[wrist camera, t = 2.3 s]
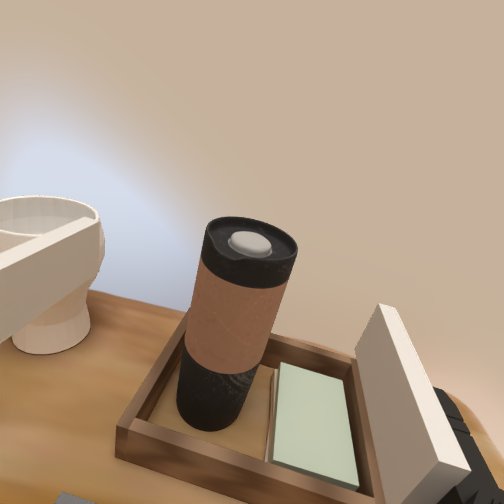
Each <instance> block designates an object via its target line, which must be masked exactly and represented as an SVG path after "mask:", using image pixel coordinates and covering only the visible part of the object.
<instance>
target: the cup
mask: <svg viewBox="0 0 504 504" xmlns="http://www.w3.org/2000/svg"><path fill="white" fill-rule="evenodd" d="M82 217H87V218H90V219H94V220H97V221H100V218H99V214H98V213H97V211H96V210H95V209H94V208H92V207H91V206H89V205H87V204H85V203H82V202H79V201H76V200H71V199H68V198H61V197H54V196H21V197H12V198H7V199H2V200H0V253H2V252H4V251H7V250H9V249H11V248H14V247H16V246H18V245H21V244H23V243H25V242H27V241H30V240H32V239H34V238H37V237H39V236H41V235H43V234H46V233H48V232H50V231H53V230H55V229H57V228H59V227H62V226H64V225H66V224H69V223H71V222H73V221H75V220H78V219H80V218H82ZM104 253H105V238H104V233H103V229H102V226H101V222H100V246H99V268H100V266H101V263H102V260H103V258H104ZM96 276H97V274H95V275H94V276H92V277H91V278H90V279H88V280H87V281H86V282H84V283H83V284H81V285H80V286H79V287H77V288H76V289H75V290H73V291H72V292H71V293H69V294H68V295H66V296H65V297H64V298H62V299H61V300H60V301H58V302H57V303H55V304H54V305H53V306H51V307H50V308H49V309H47V310H46V311H45V312H43V313H42V314H40V315H39V316H38V317H36V318H35V319H34V320H32V321H31V322H29V323H28V324H27V325H25V326H24V327H23V328H21V329H20V330H19V331H17V332H16V333H14V334H13V335H12V340H13V344H14V345H15V346H16V347H17V348H18V349H20V350H22V351H24V352H27V353H32V354H51V353H57V352H60V351H63V350H66V349H69V348H71V347H72V346H74V345H76V344H78V343H79V342H80V341H82V340H83V339H84V338H85V337H86V335H87V334H88V333H89V330H90V327H91V326H90V318H89V312H88V309H87V305H86V297H87V291H88V288H89V287H90V285H91V284H92V282H93V281H94V280H95V278H96Z"/></svg>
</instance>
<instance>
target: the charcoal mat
mask: <svg viewBox="0 0 504 504" xmlns="http://www.w3.org/2000/svg"><path fill="white" fill-rule="evenodd" d="M54 504H96V503H93V502H90V501H87V500H85V499H82V498H79V497H76V496H73V495H71V494H68V493H65V492H61V494H60V496H59V497H58V499H57V500H56V502H55V503H54Z"/></svg>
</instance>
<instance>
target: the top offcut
mask: <svg viewBox="0 0 504 504" xmlns="http://www.w3.org/2000/svg"><path fill="white" fill-rule="evenodd" d="M269 463H271V464H274V465H277V466H280V467H283V468H286V469H289V470H292V471H295V472H298V473H301V474H304V475H307V476H310V477H313V478H316V479H319V480H321V481H324V482H327V483H330V484H333V485H336V486H339V487H342V488H345V489H348V490H351V491H354V492H355V491H356V490H357V489H358V487H359V482H358V475H357V469H356V463H355V456H354V450H353V444H352V438H351V431H350V425H349V419H348V413H347V406H346V400H345V394H344V387H343V381H342V380H339V379H336V378H332V377H329V376H326V375H322V374H319V373H316V372H312V371H309V370H306V369H303V368H299V367H296V366H293V365H289V364H286V363H283V362H281V363H280V365H279V368H278V371H277V382H276V393H275V404H274V415H273V426H272V438H271V449H270V460H269Z"/></svg>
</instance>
